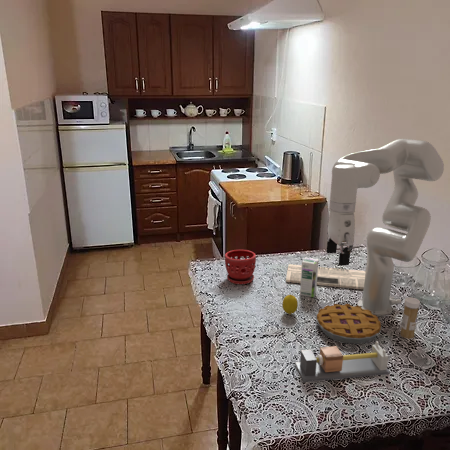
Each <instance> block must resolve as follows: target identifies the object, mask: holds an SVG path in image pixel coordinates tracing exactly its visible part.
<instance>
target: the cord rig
mask: <svg viewBox="0 0 450 450" xmlns="http://www.w3.org/2000/svg"><path fill="white" fill-rule="evenodd" d="M342 355H343V363H342V371H334V372H325V371H324V369H323V368H322V366H321V365H323V362H324V360H325V358H324V357H322V355H320V354H317V355H316V356H315V354H314V352H313V351H312V349H301V351H300V361H298V362H297V361H296V362H295V363H294V364H295V365H296V366H295V365H294V366H295V367H296V369H297V372H298V374H299V375H300V378H301V380H302V382H303V383H309V382H318V381H330V380H332V381H333V380H341V379H342V380H343V379H353V378H361V377H363V378H364V377H375V376H383V375H390V374H391V371H390V370H389V369H388V363H389V355H388V353H387V350H386V349H383V348H382V347H381V346H380V343H379V341H378V340H376V341H375V344H372V345H371V351H370V352H367V353H366V352H365V353H354V354H342Z"/></svg>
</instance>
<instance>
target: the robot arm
mask: <svg viewBox="0 0 450 450" xmlns="http://www.w3.org/2000/svg"><path fill="white" fill-rule="evenodd" d="M444 166H445V165H444V161H443V158H442V157H441V155H440V154H439V152H438V150H437V149H436V148H435V146H434V145H433V144H432V143H431V142H429V141H426V140H421V139H420V140H419V139H410V138H397V139H395V140H393V141H391V142H389V143H388V144H385V145H383V146H381V147H379V148H375V149H369V150H364V151H357V152H353V153H350V154H346V155H345V156H343V157H341V158H339V159H338V160H337V161H336V162H335V163H334V164H333V166H332V169H331V184H330V197H329V206H328V210H329V217H328V221H327V222H328V223H327V227H326V228H327V233H326V234H327V236H326V237H327V238H326V242H327V243H326V254H336V253H337V250H338V246H339V249H340V250H339V251H340V252H339V254H338V255H339V256H338V266H341V267H342V266H343V267H344V266H349V265H350V258H351V254H352V251H353V247H354V244H355V231H356V230H355V228H356V227H355V225H356V222H355V221H356V220H355V212H356V203H357V195H358V194H357V193H358V189H369V188H372V187H374V186H375V185H376V184H377V183H378V181H379V179H380V176H381V175H382V174H383V175H385V174H388V173H391V172H393V180H394V186H393V187H394V188H393V192H392V193H391V196H390V198H389V200H388V201H387V202H388V203H387V204H386V206H385V209H384V211H383V213H382V216H381V221H382V224H383V225H385V226H387V227H389V228H387V227H382V226H381V227H380V226H377V227H373V228H371V229H370V230H369V231H368V233H367V234H366V235H367V236H366V241H365V242H366V243H365V244H366V245H365V246H366V265H365V266H366V267H365V271H366V272H365V280H364V289H363V290H362V298H361V299H359V300H358V301H357V305H358V306H360V307H361V308H362V309H364V310H369V311H371V313H372V314H373V315H376V316H377V317H386V316H389V315H391V314H392V313H393V309H394V308H393V306H394V305H401V304H402V299H401V298H395V296H391V292H392V283H393V275H394V272H395V271H394V270H395V266H394V261H393V259H394V260H397V261H401V262H405V263H408V262H411V261H413V260H414V259H415V258H416V256H417V254H418V252H419V250H420V249H421V248H420V247H421V245H422V243H423V241H424V239H425V237H426V235H427V232H428V230H429V227H430V224H431V221H432V220H431V217H432V216H431V213H430V210H429V209H427V208H426V207H423V206H418V205H416V202H417V200H418V197H419V191H418V189H417V186H416V184H415V182H414V180H419V181H427V182H436V181H438V180H440V178H441V177H442V176H443V174H444V170H445V168H444ZM413 179H414V180H413ZM390 228H392V229H390ZM394 229H395V230H394ZM397 230H399V231H397ZM401 231H403V232H401ZM404 232H405V233H404ZM357 305H356V306H357Z"/></svg>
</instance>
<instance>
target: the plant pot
mask: <svg viewBox="0 0 450 450" xmlns="http://www.w3.org/2000/svg"><path fill="white" fill-rule="evenodd" d="M241 258H243V259H241ZM256 263H257V255H256V253H255V252H253V251H251V250H248V249H234V250H233V249H232V250H230V251H227V252H226V253H225V254H224V264H225V268H226V272H227V275H226V279H227V280H228V281H229V282H230V283H232V284H234V285H248V284H250V283H252V282H253V281H254V279H255V275H254V272H255V269H256ZM247 283H248V284H247Z"/></svg>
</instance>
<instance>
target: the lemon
mask: <svg viewBox="0 0 450 450" xmlns="http://www.w3.org/2000/svg"><path fill="white" fill-rule="evenodd" d="M281 306H282V310H283V311H284V313H286V314H288V315H293V314H294V313H295V312H296V311H297V309H298V307H299V305H298V299H297V298H296V296H294V295H293V294H287V295H286V296H285V297H284V298H283V299H282V304H281Z"/></svg>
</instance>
